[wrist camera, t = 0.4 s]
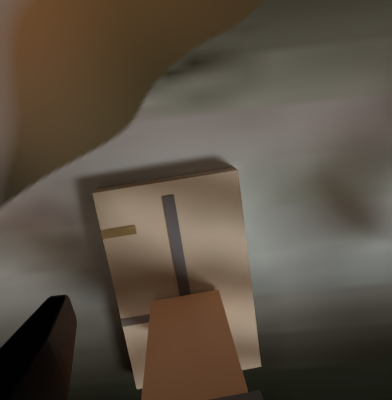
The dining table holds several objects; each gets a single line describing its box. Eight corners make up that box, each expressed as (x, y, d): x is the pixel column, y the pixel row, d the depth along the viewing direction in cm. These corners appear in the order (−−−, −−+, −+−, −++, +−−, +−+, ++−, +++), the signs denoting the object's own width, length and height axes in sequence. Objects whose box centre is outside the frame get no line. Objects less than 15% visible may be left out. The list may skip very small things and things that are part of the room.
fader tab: (230, 327, 26) (273, 474, 15) (152, 341, 26) (140, 500, 15) (224, 284, 25) (266, 408, 14) (143, 298, 25) (124, 435, 14)
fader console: (256, 354, 29) (261, 367, 27) (138, 375, 28) (136, 390, 27) (233, 167, 25) (238, 170, 23) (96, 188, 24) (91, 193, 23)
